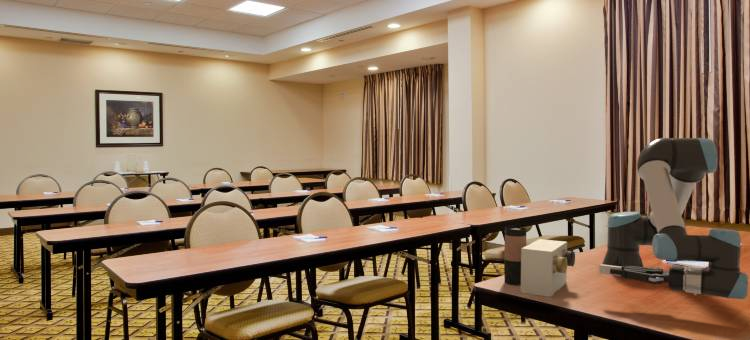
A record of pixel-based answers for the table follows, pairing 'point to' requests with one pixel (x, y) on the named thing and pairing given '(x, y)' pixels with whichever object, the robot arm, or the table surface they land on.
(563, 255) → the tan cylindrical part
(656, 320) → the table surface
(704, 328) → the table surface
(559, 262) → the brass plunger
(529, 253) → the housing
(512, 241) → the travel mug
